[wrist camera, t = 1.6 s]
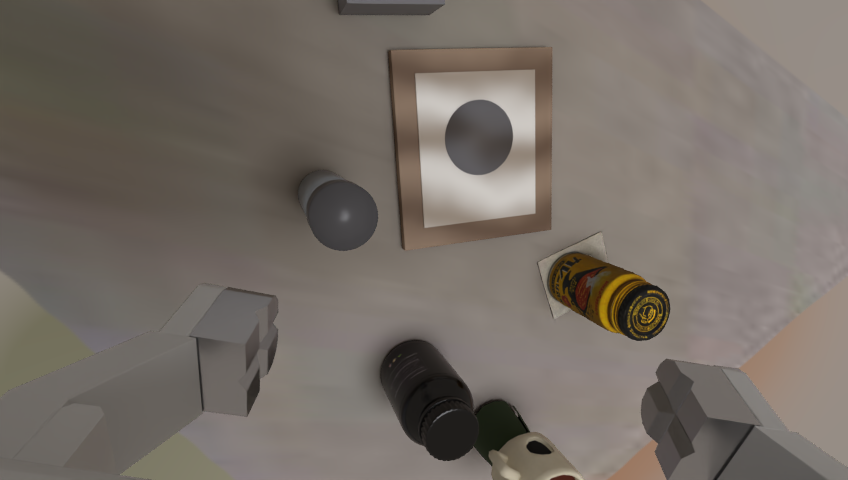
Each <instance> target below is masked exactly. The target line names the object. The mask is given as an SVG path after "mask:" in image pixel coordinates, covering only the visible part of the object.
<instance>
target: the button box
mask: <svg viewBox="0 0 848 480" xmlns="http://www.w3.org/2000/svg"><path fill="white" fill-rule="evenodd" d="M443 5H445V0H338V6H339V15H430V14H431V13H433V12H434V11H436V10H437V9H439V8H440V7H442V6H443Z"/></svg>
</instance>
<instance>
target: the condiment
mask: <svg viewBox="0 0 848 480" xmlns="http://www.w3.org/2000/svg"><path fill="white" fill-rule="evenodd" d="M586 254H588V255H586ZM589 255H591V256H589ZM538 266H539V269H540V273H541V276H542V280H543V284H544V288H545V291H546V294H547V297H548V301H549V304H550V307H551V310H552V314H553V317H554V319H556V318H558V317H559V316H561V315H563V314H565V313H566V312H568V311H571V310H573V311H575V312H576V313H579V314H580V315H582V316H584V317H586V318H587V319H588V320H590V321H593V322H594V323H596V324H597V325H599V326H601V327H603V328H604V329H606V330H608V331H611V332H614V333H620V334H623V335H625V336H627V337H628V338H630V339H633V340H636V341H642V340H649V339H651V338H653V337H655V336H657V335H658V334H659V333H660V332H661V331H662V330H663V328H664V327H665V325H666V322H667V320H668V318H669V313H670V303H669V299H668V296H667V294H666V293H665V292H664V291H663V290H662V289H660V288H659V287H657V286H654V285H652V284H650V283H648V282H646V281H645V280H644V279H643V278H642V277H641V276H639V275H636V274H634V273H633V272H630V271H627V270H624V269H623V268H620V267H617V266H614V265H612V264H609V263H608V259H607V256H606V250H605V246H604V242H603V237H602V232H599V233H597V234H596V235H593V236H591V237H589V238H588V239H585V240H583V241H581V242H579V243H577V244H575V245H572V246H570V247H568V248H566V249H564V250H562V251H560V252H557V253H556V254H553V255H551V256H549V257H548V258H545V259H543V260H541V261H540V262H538Z"/></svg>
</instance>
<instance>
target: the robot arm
mask: <svg viewBox="0 0 848 480" xmlns="http://www.w3.org/2000/svg"><path fill="white" fill-rule="evenodd" d="M277 314H278V299H277V297H276V296H275V295H269V294H264V293H258V292H253V291H247V290H242V289H236V288H231V287H228V288H227V287H224V286H218V285H212V284H206V283H203V284H201V285H198V286H197V287H196V289H195V290H194V291H193V292H192V293H191V294H190V296H189V297H188V298H187V299H186V300H185V301H184V303H183V304H182V305H181V306H180V307H179V309H178V310H177V311H176V312H175V313H174V314H173V316H172V317H171V318H170V319H169V320H168V322H167V323H166V324H165V325H164V326H163V327H162V329H161V330H160V331H159V332H156V331H149V332H147V333H145V334H142V335H140V336H137V337H135V338H133V339H130V340H128V341H125V342H123V343H121V344H118V345H116V346H113V347H111V348H109V349H106V350H104V351H101V352H99V353H97V354H94V355H92V356H89V357H87V358H85V359H82V360H80V361H78V362H75V363H73V364H70V365H68V366H66V367H63V368H61V369H58V370H56V371H54V372H51V373H49V374H46V375H44V376H42V377H39V378H37V379H34V380H32V381H30V382H27V383H25V384H23V385H20V386H18V387H15V388H13V389H11V390H8V391H7V392H6V393H5V394H4V395H3V396H2V397H1V398H0V480H149V479H143V478H136V477H129V476H123V475H120V474H121V473H122V472H124V471H125V470H126V469H128V468H129V467H131V466H132V465H133V464H135V463H136V462H137V461H139V460H140V459H141V458H143V457H144V456H146V455H147V454H148V453H150V452H151V451H152V450H154V449H155V448H156V447H158V446H159V445H161V444H162V443H163V442H165V441H166V440H167V439H169V438H170V437H171V436H173V435H174V434H176V433H177V432H178V431H180V430H181V429H182V428H184V427H185V426H186V425H188V424H189V423H191V422H192V421H193V420H195V419H196V418H197V417H199V416H200V415H201V414H202V411H204V412H212V413H220V414H228V415H236V416H244V417H247V416H248V414H249V412H250V410H251V408H252V406H253V404H254V401H255V399H256V397H257V395H258V393H259V391H260V378H262V377H264V376H265V375H267V374H268V372H269V370H270V368H271V365H272V363H273V359H274V356H275V352H276V348H277V341H278V329H277V328H276V326H275V325H274V324H273V322H274V320H275V318H276V316H277ZM656 376H657V378H658V382H657V383H655V384H653V385H652V386H650V387H648V388H647V390H646V392H645V394H644V397H643V399H642V405H641V417H642V423H643V425H644V428H645V430H646V433H647V434H648V435H649V436H650V437H651V438H652V439H653V440H655V441H656V442H657V443H658V445H657V448H656V450H655V453H656V456H657V458H658V461H659V463H660V465H661V467H662V470H663V472H664V474H665V477H666V479H667V480H848V467H846V466H845V465H843V464H842V463H840V462H839V461H838V460H836V459H835V458H833V457H832V456H830V455H829V454H827V453H826V452H825V451H823V450H822V449H820V448H819V447H817V446H816V445H814V444H813V443H812V442H810V441H809V440H807V439H806V438H804V437H803V436H802V435H800V434H799V433H797V432H792V431H789V430H788V429H787V427H786V426H785V425H784V423H783V422H782V421H781V419H780V418H779V417H778V415H777V414H776V413H775V411H774V410H773V409H772V408H771V406H770V405H769V404H768V402H767V401H766V400H765V398H764V397H763V396H762V394H761V393H760V392H759V390H758V389H757V388H756V386H755V385H754V384H753V382H752V381H751V380H750V378H749V377H748V376H747V375H746V373H744V372H743V371H741V370H740V369H738V368H730V367H723V366H715V365H714V366H710V365H703V364H697V363H691V362H684V361H678V360H671V359H665V360H664V361H663V362H662V363H661V364H660V365H659V367H658V369H657V371H656Z"/></svg>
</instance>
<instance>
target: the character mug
mask: <svg viewBox="0 0 848 480" xmlns="http://www.w3.org/2000/svg"><path fill="white" fill-rule="evenodd" d="M513 408H514V409H515V407H514V406H513ZM515 410H516V409H515ZM516 412H517V413H518V411H517V410H516ZM476 417H477V421H478V422H479V435H478V439H477V440H476V443H475V444H474V445H473V446H474V447H475V448H476V449H477V451H478V452H479V453H480V454H481V455H482V457H483V458H484V459H485V460H486V461H487V462H488V463H489V464H490V465H491V466H492V473H491V475H492V478H493V480H585V479H584V478H583V477H582V475H581V474H580V473H579V472H578V471H577V470H576V469H575V467H574V466H573V465H572V464H571V463H570V462H569V461H568V460H567V459H566V458H565V457H564V456H563V454H562V453H561V452H560V451H559V450H558V449H557V448H556V447H555V445H554V444H552V442H551V441H550V440H549V439H548V438H546V437H545V436H543V435H542V434H540V433H537V432H530V431H529V429H528V427H527V426H526V424H525V422H524V421H523V419H522V417H521V416H520V414H519V413H518V417H517V416H516V415H515V413H514V412H513V411H512V409H511V408H510V407H509V405H508V404H507V403H506V402H505V401H494V402H491V403H489V404H487V405H485V406H483V407H482V408H481V409H480V411H479V412H478V413H477V415H476Z"/></svg>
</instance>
